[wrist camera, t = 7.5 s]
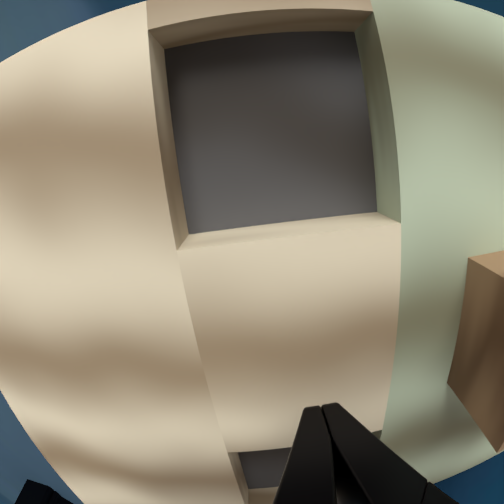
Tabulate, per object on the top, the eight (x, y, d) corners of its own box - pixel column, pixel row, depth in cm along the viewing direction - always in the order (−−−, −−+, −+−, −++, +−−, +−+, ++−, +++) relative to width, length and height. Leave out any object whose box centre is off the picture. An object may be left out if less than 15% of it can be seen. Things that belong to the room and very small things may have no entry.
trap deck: (493, 430, 14) (506, 449, 12) (95, 484, 15) (87, 506, 13) (535, 51, 8) (563, 45, 6) (-40, 114, 8) (-71, 114, 7)
